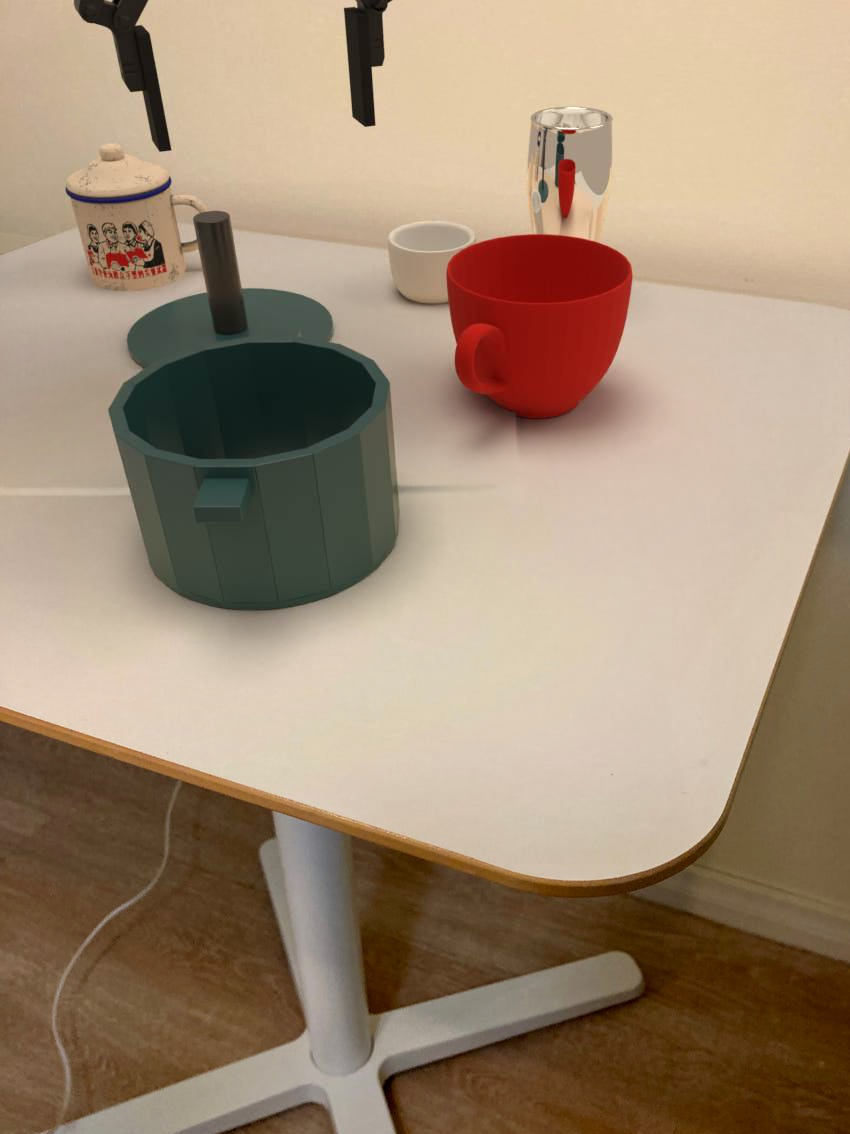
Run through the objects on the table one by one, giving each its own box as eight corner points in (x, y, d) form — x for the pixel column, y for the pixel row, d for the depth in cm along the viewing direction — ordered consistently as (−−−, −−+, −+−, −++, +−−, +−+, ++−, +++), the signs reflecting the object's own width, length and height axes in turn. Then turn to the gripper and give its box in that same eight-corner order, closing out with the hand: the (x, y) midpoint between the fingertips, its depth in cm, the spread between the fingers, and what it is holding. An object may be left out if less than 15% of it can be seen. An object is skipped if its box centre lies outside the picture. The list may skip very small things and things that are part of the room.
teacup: (491, 305, 92) (490, 243, 88) (409, 320, 89) (406, 258, 86) (448, 266, 99) (446, 208, 95) (372, 280, 96) (367, 220, 93)
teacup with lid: (80, 299, 94) (44, 163, 86) (100, 262, 101) (68, 133, 93) (214, 294, 94) (190, 158, 87) (225, 257, 101) (203, 128, 94)
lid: (104, 389, 81) (69, 257, 74) (158, 301, 93) (132, 183, 87) (320, 387, 80) (304, 255, 74) (344, 300, 93) (332, 181, 86)
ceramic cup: (386, 436, 74) (375, 301, 68) (504, 346, 85) (504, 222, 79) (546, 484, 69) (551, 343, 63) (650, 382, 80) (663, 252, 74)
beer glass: (613, 292, 94) (627, 110, 84) (586, 321, 89) (597, 132, 79) (542, 280, 96) (547, 102, 86) (512, 308, 91) (514, 123, 81)
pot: (104, 641, 58) (56, 495, 51) (188, 448, 73) (160, 319, 67) (384, 640, 57) (370, 494, 51) (408, 446, 73) (400, 317, 67)
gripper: (-41, -306, 48) (77, 173, 62) (455, -302, 56) (462, 125, 70) (-48, -300, 54) (63, 140, 67) (406, -298, 61) (422, 99, 75)
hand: (265, 133), depth 69 cm, fingers open, 13 cm apart
